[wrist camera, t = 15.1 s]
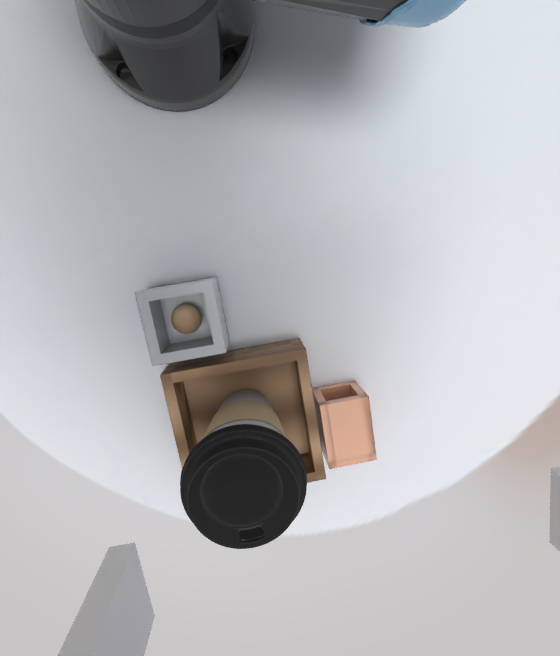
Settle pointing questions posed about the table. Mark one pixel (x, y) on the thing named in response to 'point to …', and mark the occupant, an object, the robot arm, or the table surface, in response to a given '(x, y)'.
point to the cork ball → (186, 318)
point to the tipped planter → (344, 424)
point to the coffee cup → (243, 475)
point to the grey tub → (165, 338)
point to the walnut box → (238, 374)
